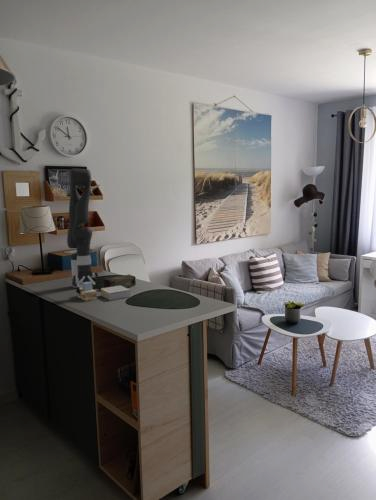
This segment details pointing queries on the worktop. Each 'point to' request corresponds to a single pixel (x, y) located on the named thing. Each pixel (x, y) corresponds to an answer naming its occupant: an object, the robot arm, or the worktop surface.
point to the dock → (115, 292)
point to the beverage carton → (119, 281)
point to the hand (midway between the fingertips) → (86, 292)
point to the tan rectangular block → (87, 295)
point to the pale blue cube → (87, 286)
